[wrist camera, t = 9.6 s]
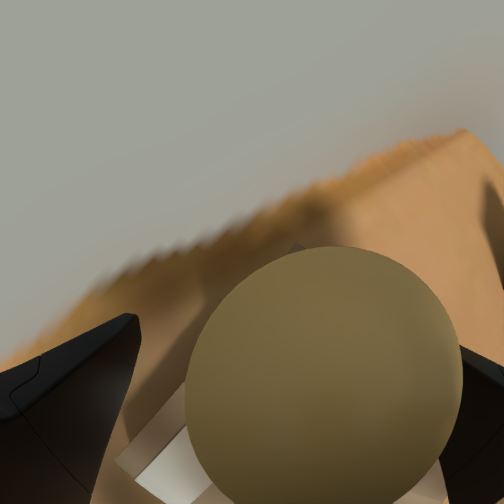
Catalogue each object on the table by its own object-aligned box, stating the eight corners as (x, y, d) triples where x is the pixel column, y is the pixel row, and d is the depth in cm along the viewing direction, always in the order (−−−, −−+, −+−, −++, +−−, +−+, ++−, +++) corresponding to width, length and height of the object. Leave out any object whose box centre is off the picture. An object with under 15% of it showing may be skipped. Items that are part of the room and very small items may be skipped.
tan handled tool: (279, 418, 15) (426, 514, 2) (215, 403, 15) (150, 496, 2) (295, 358, 16) (466, 282, 4) (233, 342, 16) (238, 214, 4)
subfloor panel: (361, 560, 9) (377, 576, 6) (130, 449, 13) (112, 461, 10) (471, 397, 15) (497, 394, 12) (286, 262, 19) (296, 241, 16)
